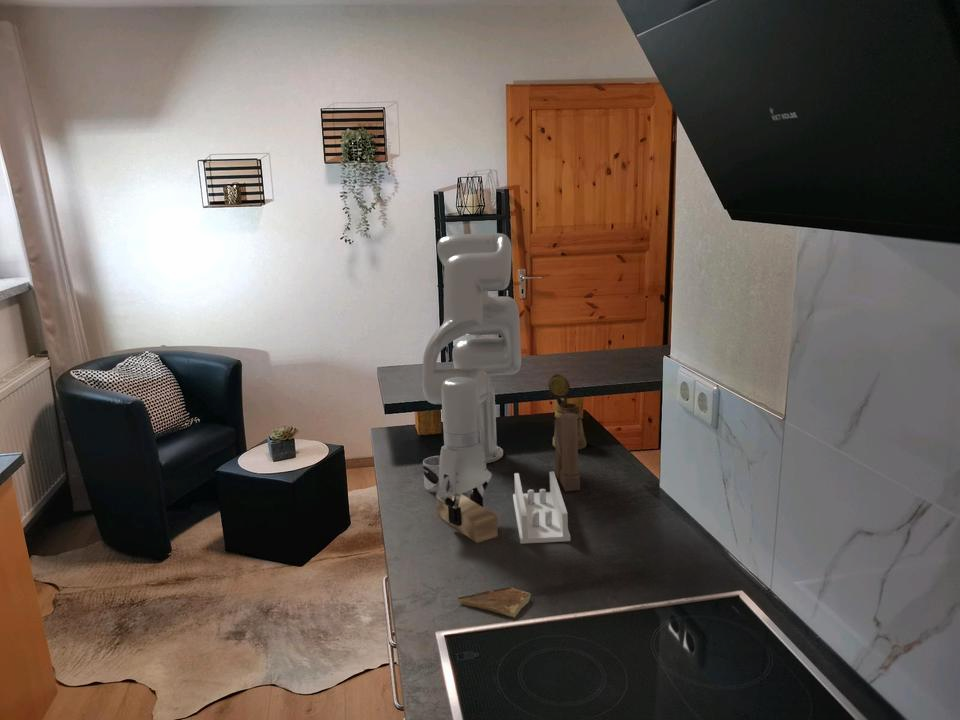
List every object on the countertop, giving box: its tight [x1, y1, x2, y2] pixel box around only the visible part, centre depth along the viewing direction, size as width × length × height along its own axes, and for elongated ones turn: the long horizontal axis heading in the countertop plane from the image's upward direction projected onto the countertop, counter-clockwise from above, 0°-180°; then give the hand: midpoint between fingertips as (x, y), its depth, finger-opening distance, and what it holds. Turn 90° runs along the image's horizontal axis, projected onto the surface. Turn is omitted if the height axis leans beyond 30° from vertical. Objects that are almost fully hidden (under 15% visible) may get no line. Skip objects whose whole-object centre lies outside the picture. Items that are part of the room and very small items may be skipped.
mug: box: [422, 455, 440, 494], centre depth 176 cm, size 10×7×7 cm, turn 39°
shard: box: [457, 586, 531, 618], centre depth 129 cm, size 11×8×2 cm
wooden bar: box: [436, 493, 499, 544], centre depth 157 cm, size 16×5×4 cm, turn 33°
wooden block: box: [554, 413, 581, 492], centre depth 175 cm, size 4×11×18 cm, turn 6°
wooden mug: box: [548, 373, 587, 451], centre depth 202 cm, size 9×14×18 cm, turn 16°
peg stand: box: [512, 470, 571, 544], centre depth 159 cm, size 22×10×6 cm, turn 2°
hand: (466, 517), depth 157 cm, fingers closed on wooden bar, 5 cm apart
